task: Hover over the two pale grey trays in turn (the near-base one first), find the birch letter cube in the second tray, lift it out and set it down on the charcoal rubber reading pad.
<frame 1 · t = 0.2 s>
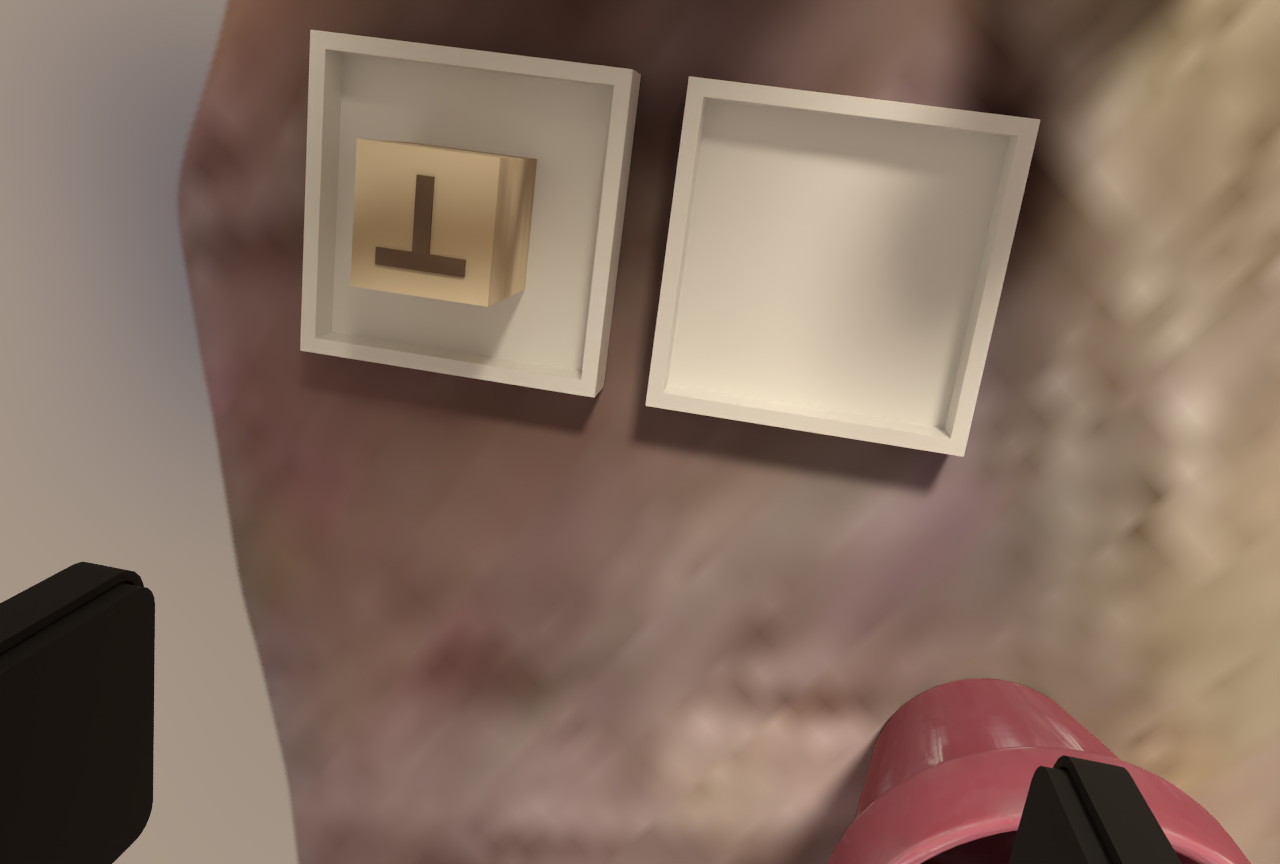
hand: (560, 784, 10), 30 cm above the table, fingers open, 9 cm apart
letter cube: (468, 216, 38), resting on tray a
tray b: (828, 266, 37), on the table
plant pot: (979, 767, 42), on the table
tray a: (472, 216, 39), on the table
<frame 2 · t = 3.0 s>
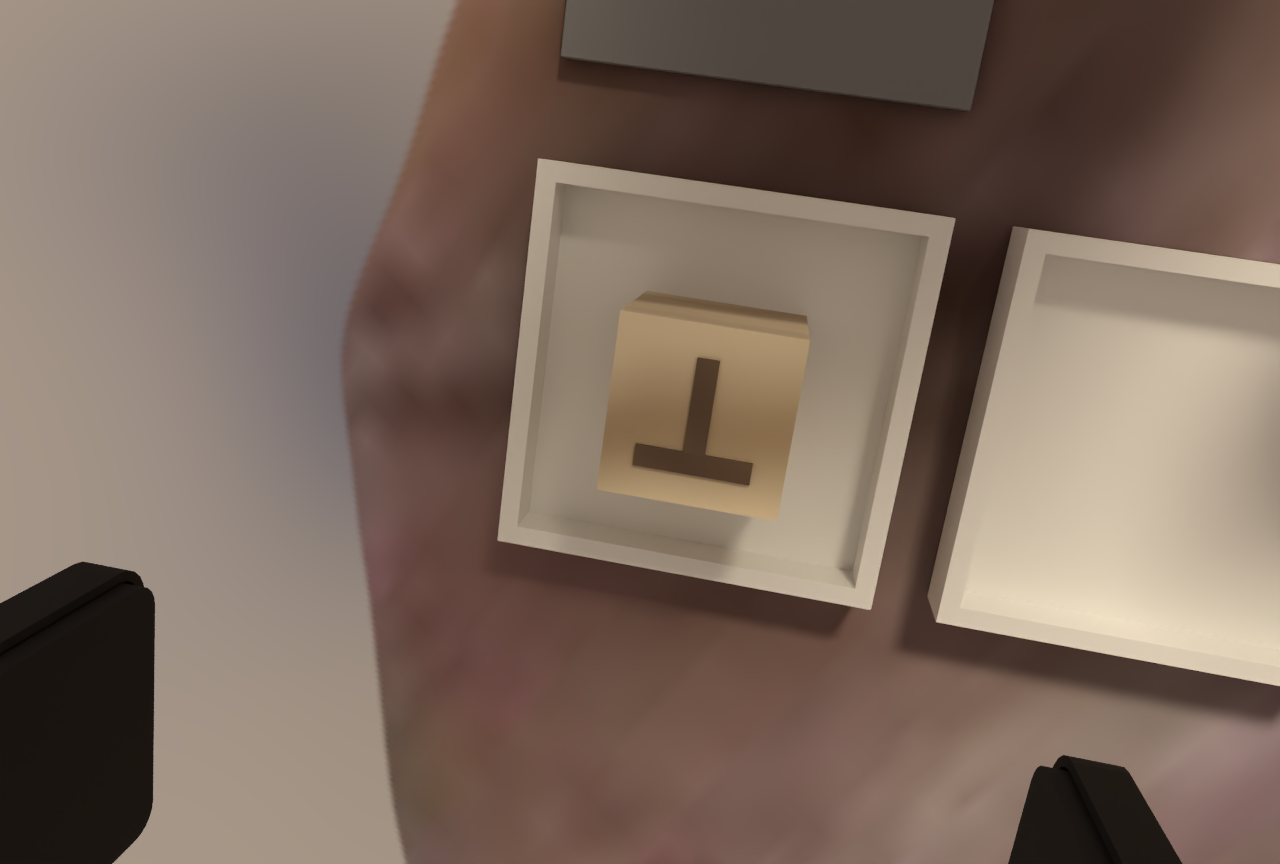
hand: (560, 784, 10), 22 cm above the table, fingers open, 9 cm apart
letter cube: (713, 381, 31), resting on tray a
tray b: (1167, 453, 30), on the table
tray a: (714, 378, 32), on the table
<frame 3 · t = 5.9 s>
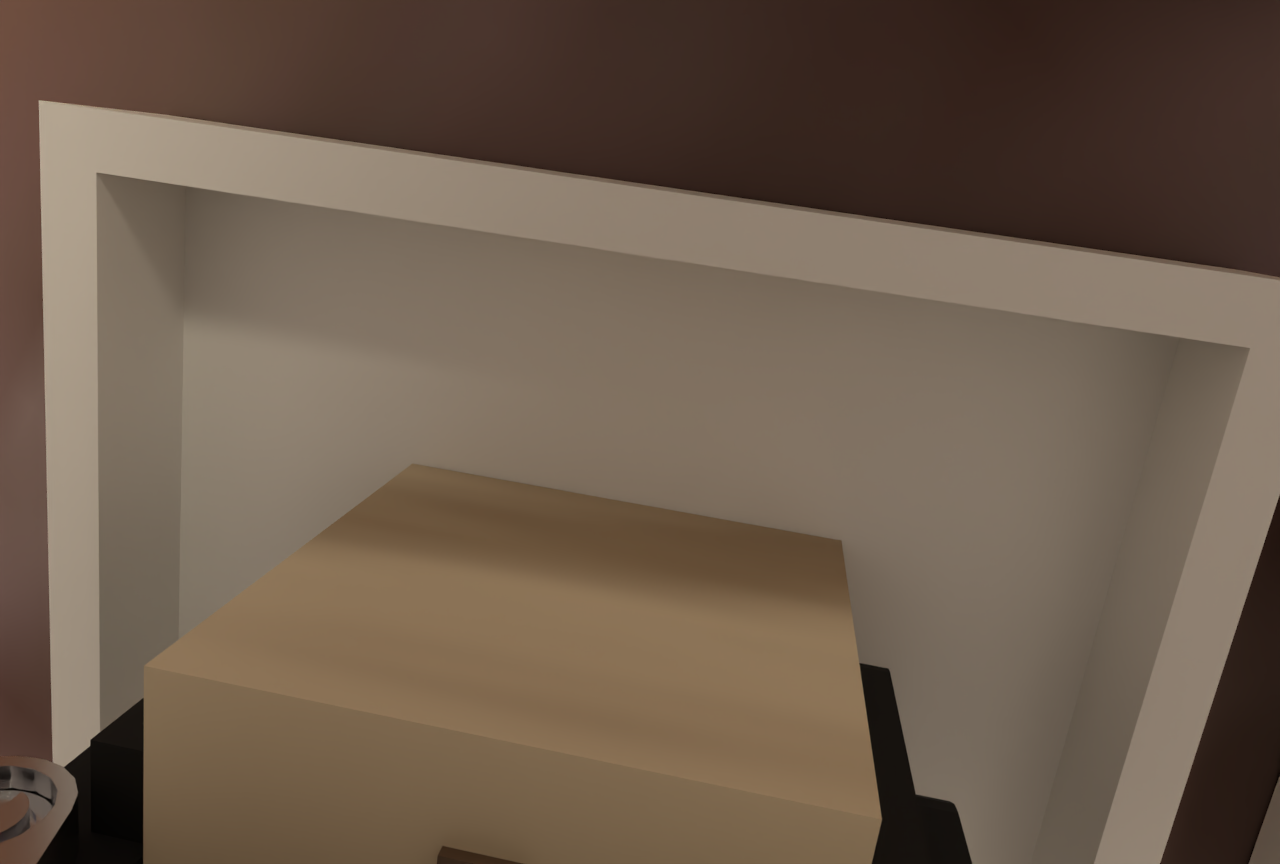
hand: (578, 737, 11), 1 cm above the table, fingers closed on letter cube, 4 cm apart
letter cube: (594, 695, 12), point 1 cm above the table, touching gripper, tray a
tray a: (602, 674, 12), on the table
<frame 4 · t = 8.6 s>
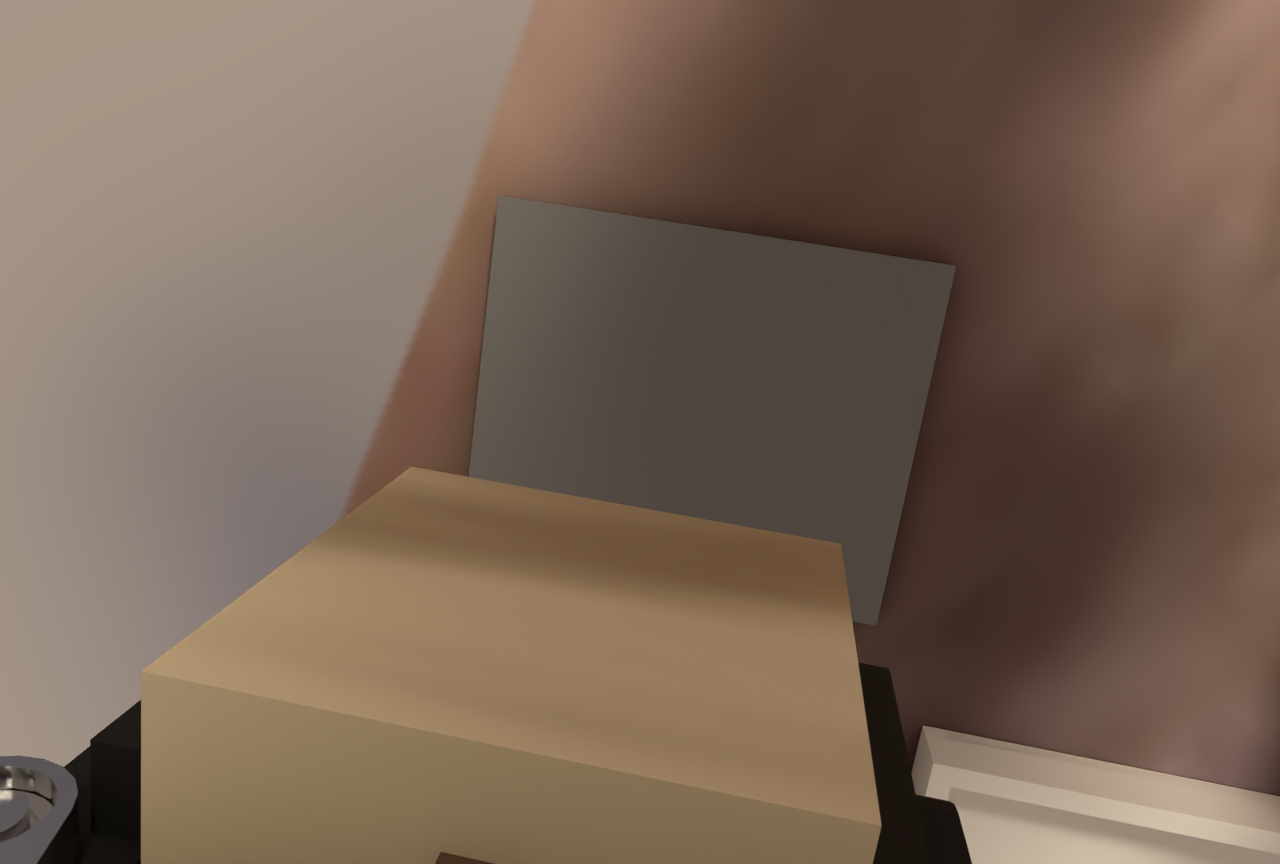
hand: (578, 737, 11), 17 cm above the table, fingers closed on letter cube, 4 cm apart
letter cube: (594, 698, 12), point 16 cm above the table, touching gripper
reading pad: (693, 411, 27), on the table
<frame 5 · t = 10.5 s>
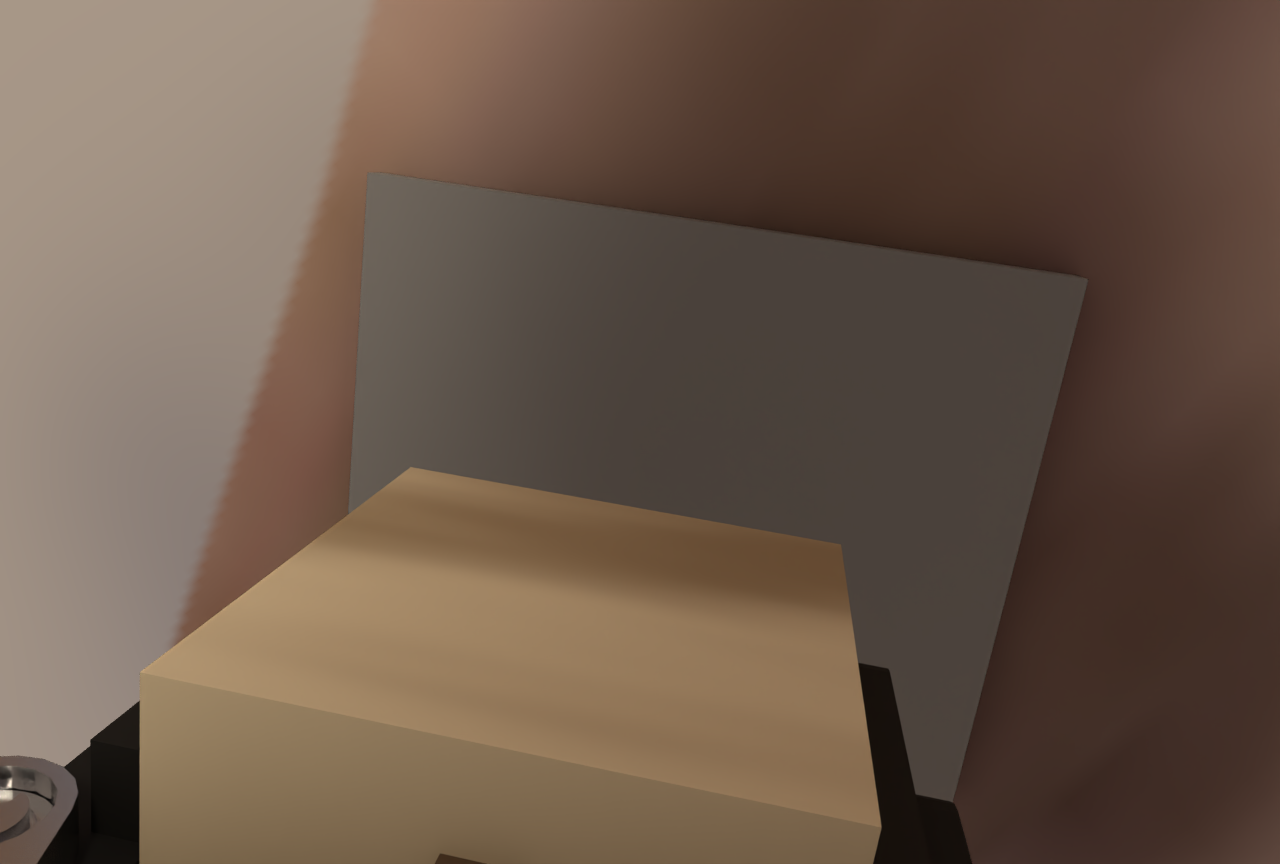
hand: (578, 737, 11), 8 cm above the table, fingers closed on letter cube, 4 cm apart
letter cube: (593, 699, 12), point 7 cm above the table, touching gripper
reading pad: (674, 496, 18), on the table
when the fingers open (3 cm above the table, at t = 11.8 s): letter cube drops 1 cm, resting on reading pad.
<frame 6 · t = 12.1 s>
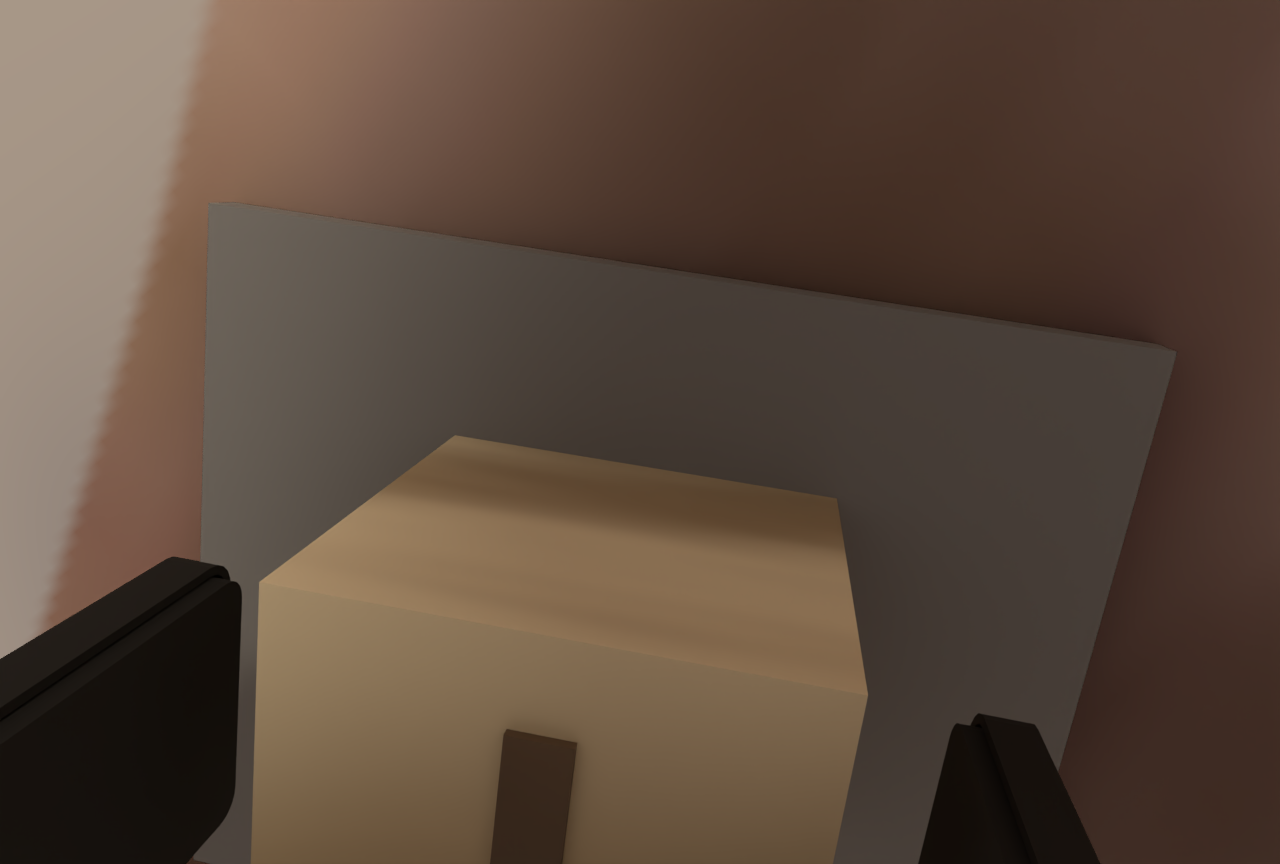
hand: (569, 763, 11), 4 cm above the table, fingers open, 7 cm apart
letter cube: (618, 641, 13), point 1 cm above the table, touching reading pad
reading pad: (621, 623, 14), on the table
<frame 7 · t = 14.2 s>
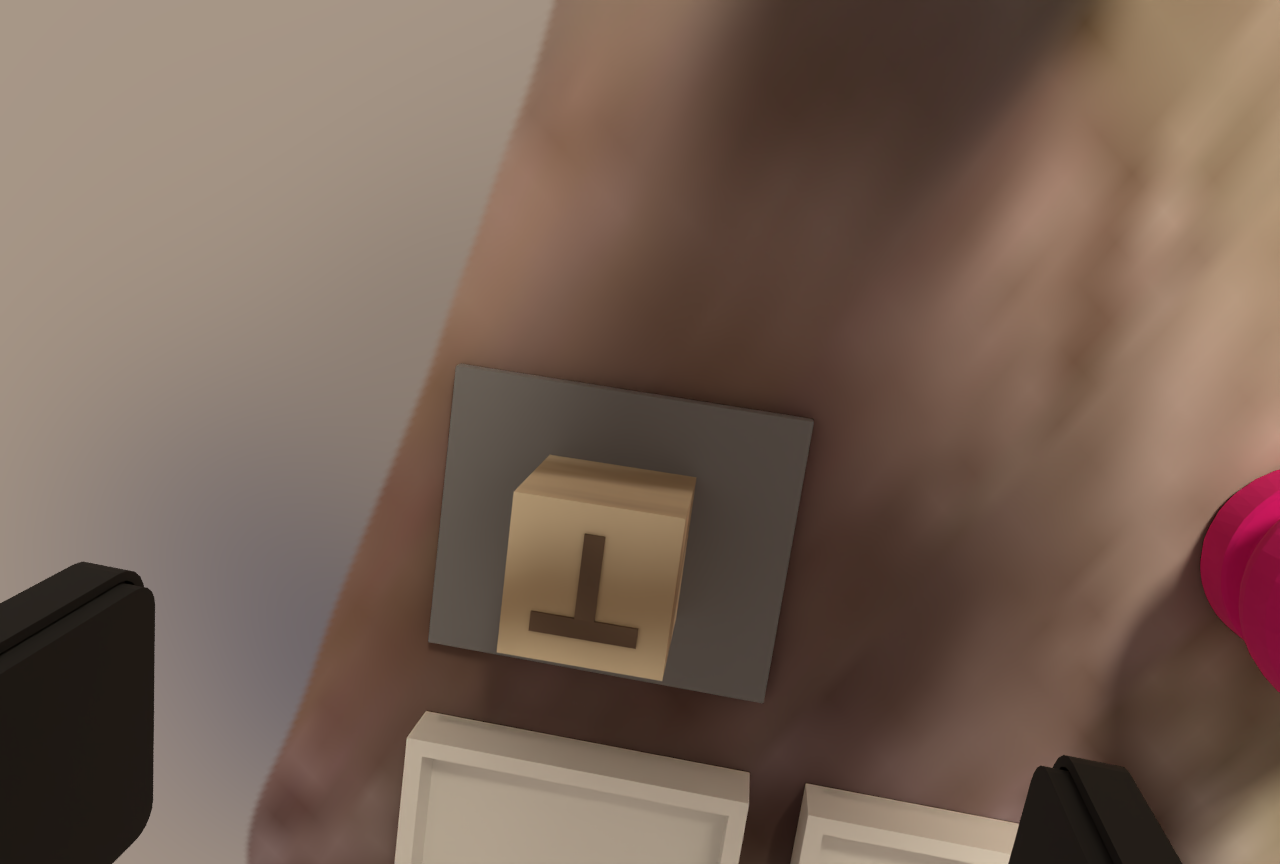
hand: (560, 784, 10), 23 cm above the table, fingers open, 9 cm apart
letter cube: (613, 536, 34), point 1 cm above the table, touching reading pad
reading pad: (614, 532, 34), on the table
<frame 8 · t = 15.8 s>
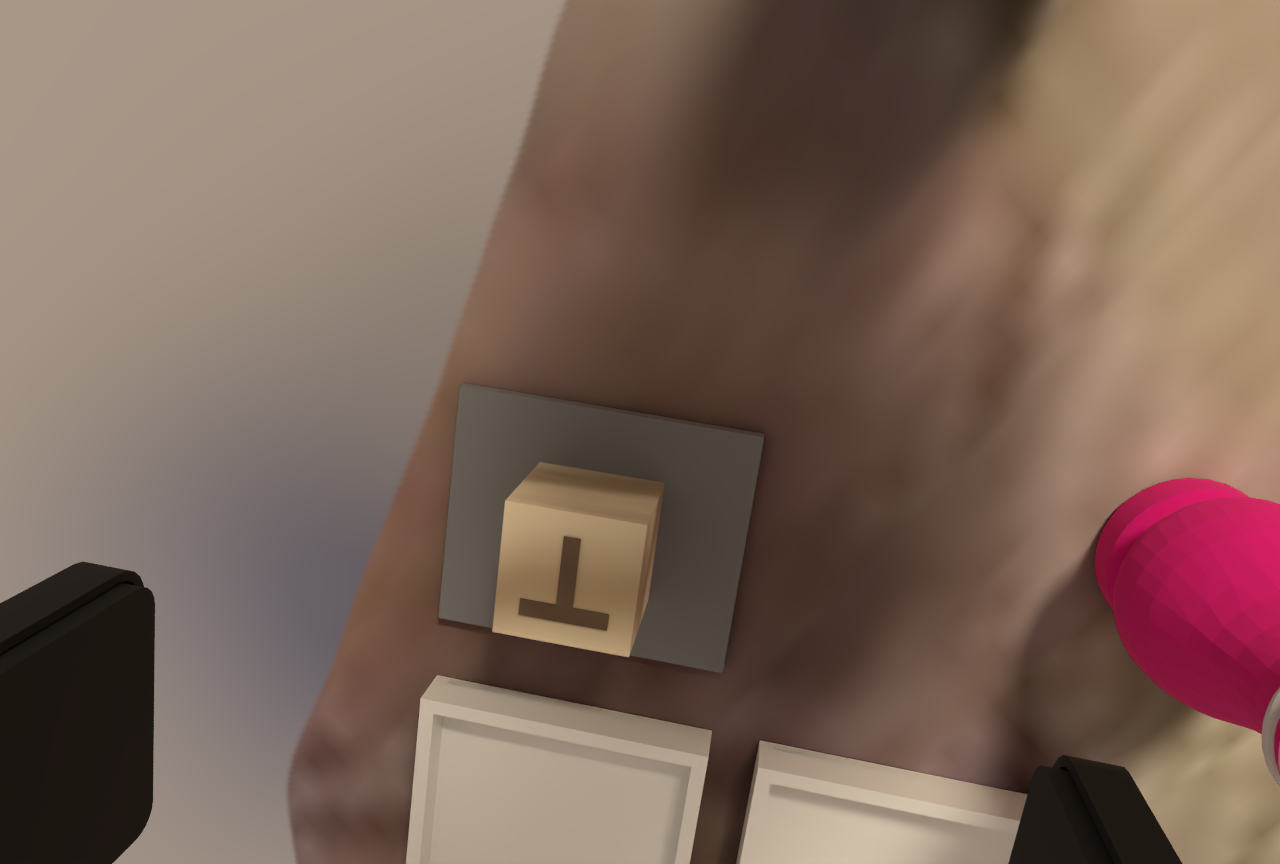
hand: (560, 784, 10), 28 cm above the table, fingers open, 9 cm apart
letter cube: (594, 531, 39), point 1 cm above the table, touching reading pad
pepper mill: (1179, 555, 37), on the table
reading pad: (596, 527, 40), on the table
tray a: (556, 822, 43), on the table
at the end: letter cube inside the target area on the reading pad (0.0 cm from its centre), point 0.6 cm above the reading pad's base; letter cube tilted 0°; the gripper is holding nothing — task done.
